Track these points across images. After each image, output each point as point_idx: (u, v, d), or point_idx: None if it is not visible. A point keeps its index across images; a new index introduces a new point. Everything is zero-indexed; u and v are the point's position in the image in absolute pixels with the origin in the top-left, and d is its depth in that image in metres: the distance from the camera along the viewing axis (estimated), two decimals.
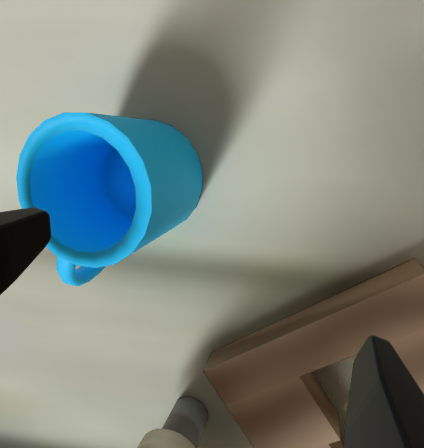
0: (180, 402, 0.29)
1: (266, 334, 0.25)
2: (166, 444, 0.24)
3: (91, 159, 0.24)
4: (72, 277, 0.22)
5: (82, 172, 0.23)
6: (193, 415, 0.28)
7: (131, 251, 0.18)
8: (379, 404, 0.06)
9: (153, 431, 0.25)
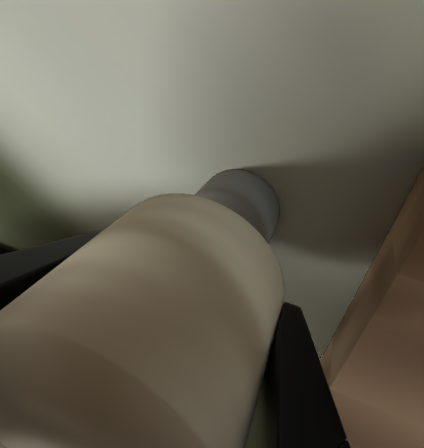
0: (248, 179, 0.12)
1: None
2: (254, 272, 0.07)
3: None
4: None
5: None
6: (269, 226, 0.11)
7: None
8: (272, 360, 0.07)
9: (213, 205, 0.08)
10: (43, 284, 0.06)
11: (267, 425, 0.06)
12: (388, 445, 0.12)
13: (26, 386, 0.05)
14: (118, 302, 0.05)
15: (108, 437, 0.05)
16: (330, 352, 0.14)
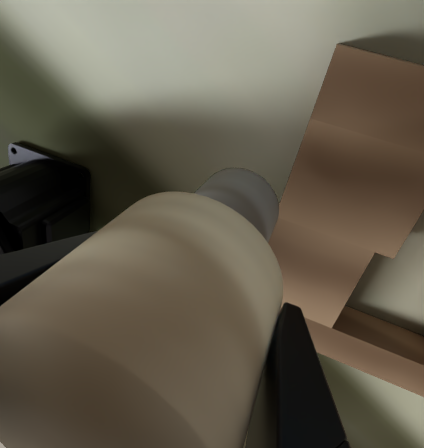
0: (247, 177, 0.12)
1: None
2: (253, 270, 0.07)
3: None
4: None
5: None
6: (269, 224, 0.11)
7: None
8: (272, 359, 0.07)
9: (212, 203, 0.08)
10: (41, 281, 0.06)
11: (267, 425, 0.06)
12: (313, 257, 0.19)
13: (24, 383, 0.05)
14: (116, 299, 0.05)
15: (106, 435, 0.05)
16: None
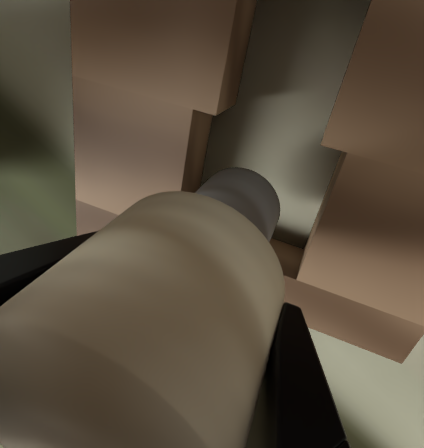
0: (248, 176, 0.12)
1: None
2: (255, 270, 0.07)
3: None
4: None
5: None
6: (270, 224, 0.11)
7: None
8: (272, 360, 0.07)
9: (214, 202, 0.08)
10: (41, 281, 0.05)
11: (267, 425, 0.06)
12: (128, 130, 0.14)
13: (24, 385, 0.05)
14: (117, 299, 0.05)
15: (106, 436, 0.05)
16: None
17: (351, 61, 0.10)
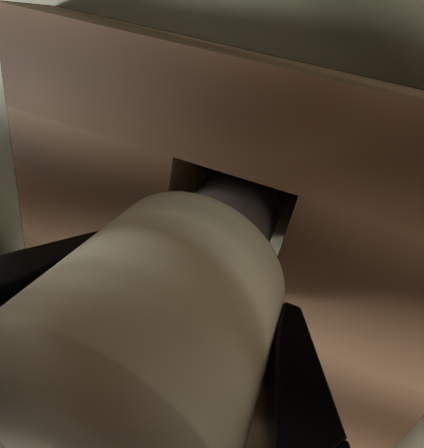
0: None
1: (176, 37, 0.10)
2: (255, 270, 0.07)
3: None
4: None
5: None
6: (270, 224, 0.11)
7: None
8: (272, 360, 0.07)
9: (214, 202, 0.08)
10: (42, 281, 0.05)
11: (267, 425, 0.06)
12: None
13: (25, 384, 0.05)
14: (117, 299, 0.05)
15: (107, 435, 0.05)
16: None
17: None
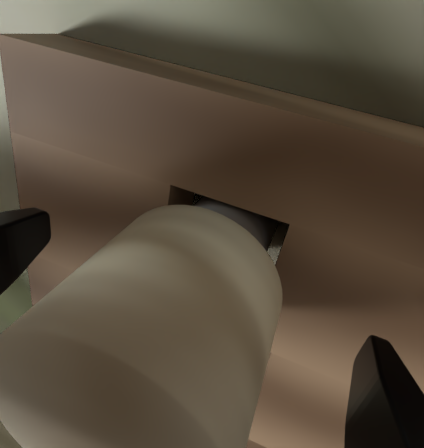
0: None
1: (174, 71, 0.10)
2: (255, 280, 0.07)
3: None
4: None
5: None
6: (268, 233, 0.12)
7: None
8: (379, 404, 0.06)
9: (216, 216, 0.08)
10: (60, 293, 0.06)
11: None
12: None
13: (45, 387, 0.06)
14: (131, 310, 0.05)
15: (122, 434, 0.06)
16: None
17: None
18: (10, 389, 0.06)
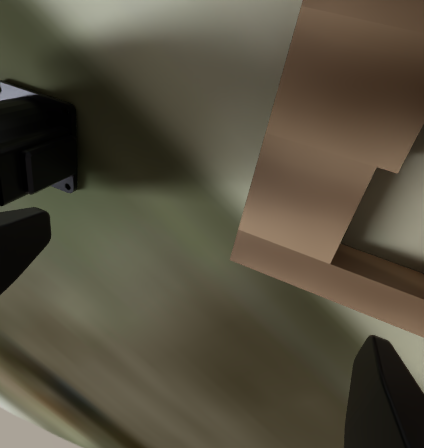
0: None
1: None
2: None
3: None
4: None
5: None
6: None
7: None
8: (379, 404, 0.06)
9: None
10: None
11: None
12: (308, 179, 0.17)
13: None
14: None
15: None
16: None
17: None
18: None
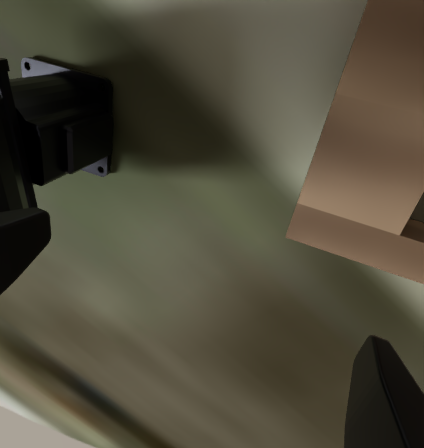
0: None
1: None
2: None
3: None
4: None
5: None
6: None
7: None
8: (379, 404, 0.06)
9: None
10: None
11: None
12: (381, 142, 0.16)
13: None
14: None
15: None
16: None
17: None
18: None
